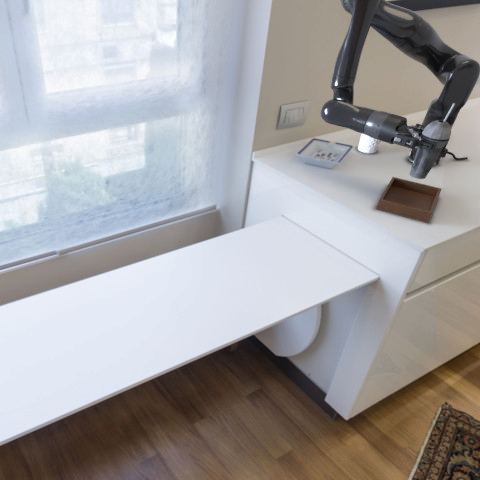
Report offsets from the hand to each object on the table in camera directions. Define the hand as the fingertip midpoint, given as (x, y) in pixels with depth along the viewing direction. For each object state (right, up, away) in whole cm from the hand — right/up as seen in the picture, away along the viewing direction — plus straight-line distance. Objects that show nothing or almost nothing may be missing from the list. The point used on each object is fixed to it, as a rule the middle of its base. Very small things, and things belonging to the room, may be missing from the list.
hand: (440, 143), depth 121 cm
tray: (-1, -13, +14) cm, 19 cm away
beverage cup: (-2, -6, +8) cm, 10 cm away
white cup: (0, +15, +44) cm, 47 cm away
